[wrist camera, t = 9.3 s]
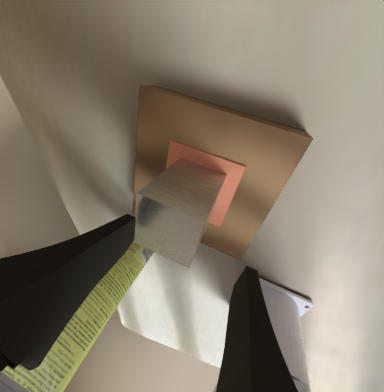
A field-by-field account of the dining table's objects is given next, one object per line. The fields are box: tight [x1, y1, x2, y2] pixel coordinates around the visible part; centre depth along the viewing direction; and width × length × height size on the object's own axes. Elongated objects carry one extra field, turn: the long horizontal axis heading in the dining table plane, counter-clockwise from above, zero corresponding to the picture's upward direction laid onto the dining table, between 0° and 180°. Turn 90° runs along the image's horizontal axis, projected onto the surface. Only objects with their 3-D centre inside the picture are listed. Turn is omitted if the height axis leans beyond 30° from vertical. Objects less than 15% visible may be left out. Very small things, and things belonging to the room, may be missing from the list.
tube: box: [2, 241, 154, 392], centre depth 20 cm, size 6×5×20 cm
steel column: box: [134, 158, 227, 268], centre depth 15 cm, size 4×4×7 cm
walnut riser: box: [133, 86, 313, 260], centre depth 19 cm, size 14×14×3 cm
